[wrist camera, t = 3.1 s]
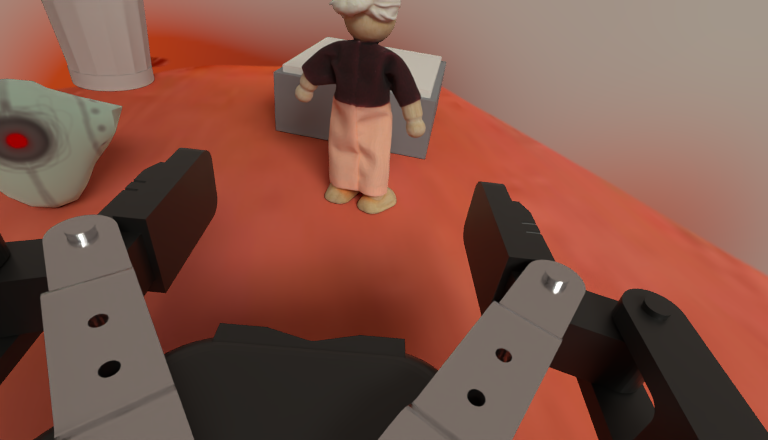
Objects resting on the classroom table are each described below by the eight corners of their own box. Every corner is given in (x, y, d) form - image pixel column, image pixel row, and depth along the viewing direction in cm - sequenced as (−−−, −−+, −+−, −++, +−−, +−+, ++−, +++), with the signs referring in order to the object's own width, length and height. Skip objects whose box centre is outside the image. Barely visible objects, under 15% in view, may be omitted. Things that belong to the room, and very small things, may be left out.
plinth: (275, 130, 32) (273, 65, 29) (322, 86, 42) (324, 35, 39) (424, 159, 31) (437, 94, 28) (436, 107, 41) (447, 56, 38)
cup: (47, 94, 32) (-22, -95, 25) (73, 64, 38) (23, -95, 31) (159, 94, 35) (124, -77, 28) (167, 67, 41) (140, -80, 34)
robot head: (141, 177, 24) (110, 61, 20) (149, 214, 21) (115, 88, 18) (-39, 203, 20) (-118, 66, 17) (-56, 251, 18) (-157, 101, 14)
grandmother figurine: (415, 192, 27) (458, -31, 19) (406, 224, 24) (454, -26, 16) (304, 169, 27) (306, -55, 20) (282, 197, 24) (274, -55, 17)
